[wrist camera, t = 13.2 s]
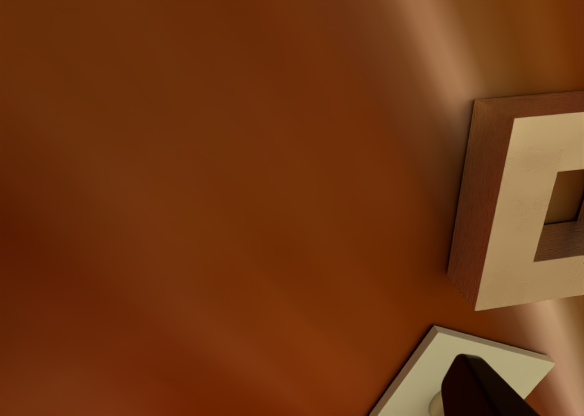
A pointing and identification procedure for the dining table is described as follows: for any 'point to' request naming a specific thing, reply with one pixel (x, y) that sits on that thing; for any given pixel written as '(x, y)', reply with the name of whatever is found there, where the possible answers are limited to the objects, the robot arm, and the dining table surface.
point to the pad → (438, 358)
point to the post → (436, 405)
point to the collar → (518, 202)
